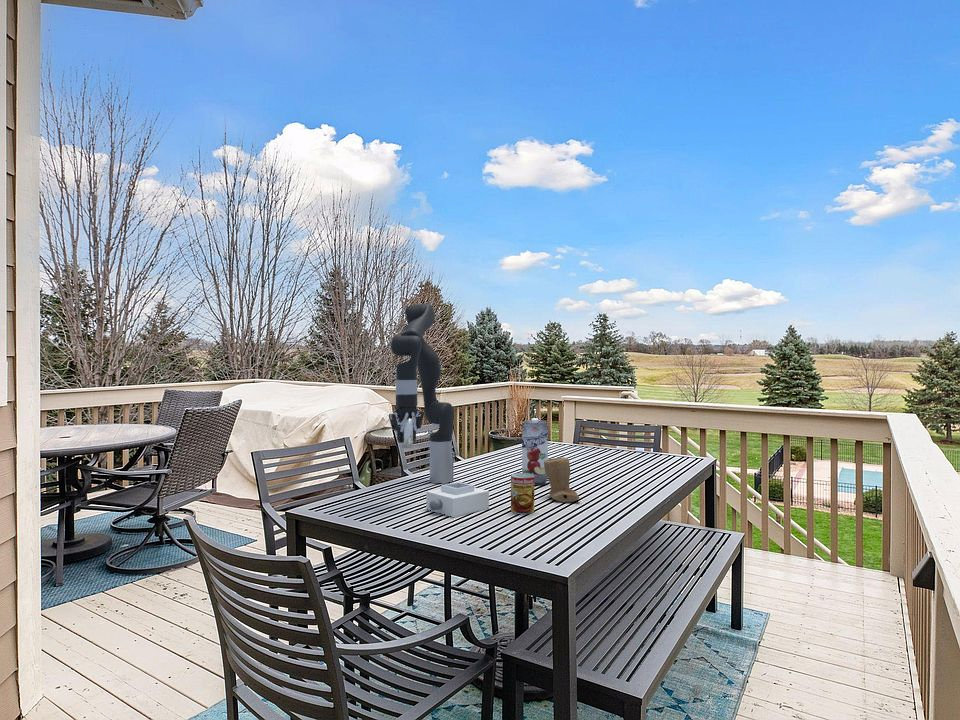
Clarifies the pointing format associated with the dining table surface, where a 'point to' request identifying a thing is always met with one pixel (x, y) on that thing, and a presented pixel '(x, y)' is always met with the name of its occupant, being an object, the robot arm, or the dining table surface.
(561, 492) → the tan suede boot
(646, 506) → the dining table surface
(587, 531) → the dining table surface
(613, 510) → the dining table surface
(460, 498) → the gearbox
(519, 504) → the canned food
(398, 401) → the robot arm
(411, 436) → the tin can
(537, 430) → the juice carton
